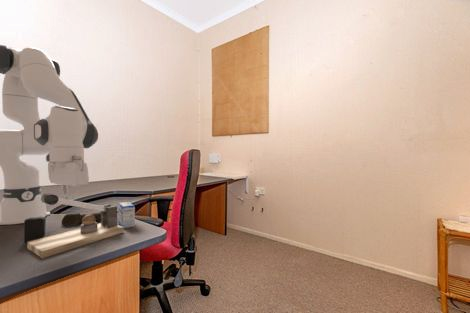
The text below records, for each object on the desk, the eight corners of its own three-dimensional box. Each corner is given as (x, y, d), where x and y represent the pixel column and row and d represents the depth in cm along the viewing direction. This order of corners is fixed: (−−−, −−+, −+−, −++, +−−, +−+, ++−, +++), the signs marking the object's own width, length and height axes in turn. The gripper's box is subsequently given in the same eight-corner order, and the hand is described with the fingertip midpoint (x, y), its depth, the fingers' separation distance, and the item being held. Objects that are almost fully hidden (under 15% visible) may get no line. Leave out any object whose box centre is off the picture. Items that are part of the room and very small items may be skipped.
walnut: (80, 226, 79) (79, 214, 79) (92, 223, 82) (92, 212, 82) (85, 228, 76) (85, 216, 76) (98, 225, 80) (97, 214, 80)
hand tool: (115, 218, 102) (115, 207, 102) (115, 220, 98) (114, 209, 98) (63, 224, 93) (63, 213, 93) (61, 227, 90) (61, 215, 90)
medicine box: (118, 223, 94) (117, 202, 93) (129, 221, 97) (129, 201, 96) (123, 228, 88) (122, 206, 87) (135, 226, 91) (134, 204, 90)
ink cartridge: (45, 239, 77) (45, 216, 77) (43, 241, 75) (44, 217, 75) (26, 241, 75) (26, 217, 75) (24, 244, 73) (24, 219, 73)
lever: (39, 201, 69) (43, 192, 70) (106, 213, 87) (109, 205, 87) (44, 203, 67) (49, 193, 68) (113, 215, 84) (116, 207, 85)
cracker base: (27, 248, 70) (26, 217, 70) (106, 226, 90) (105, 202, 90) (42, 258, 64) (41, 224, 63) (123, 232, 84) (123, 206, 83)
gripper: (94, 156, 70) (95, 200, 71) (65, 156, 81) (66, 194, 82) (70, 156, 65) (71, 204, 65) (43, 156, 76) (44, 197, 76)
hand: (68, 198), depth 73 cm, fingers closed, pressing on lever
